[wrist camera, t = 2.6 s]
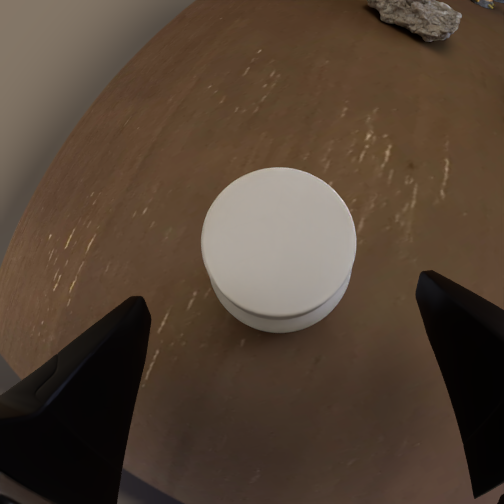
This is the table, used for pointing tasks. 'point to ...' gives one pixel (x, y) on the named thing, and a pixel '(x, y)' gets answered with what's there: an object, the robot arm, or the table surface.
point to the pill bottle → (279, 249)
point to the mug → (487, 3)
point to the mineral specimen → (419, 17)
